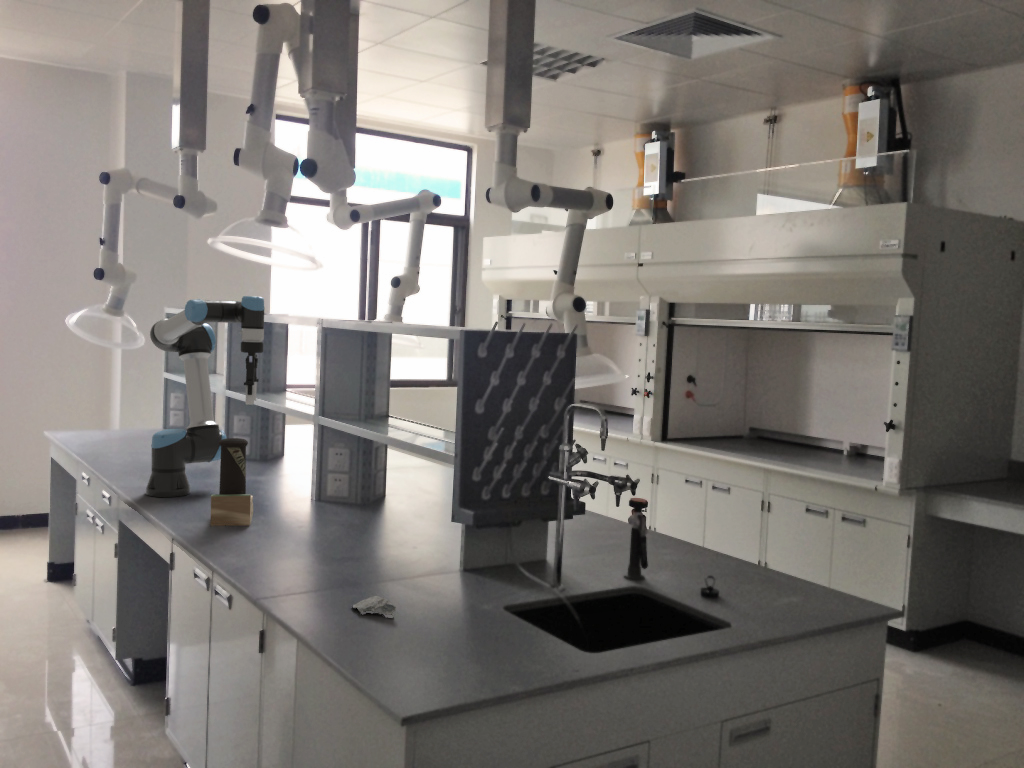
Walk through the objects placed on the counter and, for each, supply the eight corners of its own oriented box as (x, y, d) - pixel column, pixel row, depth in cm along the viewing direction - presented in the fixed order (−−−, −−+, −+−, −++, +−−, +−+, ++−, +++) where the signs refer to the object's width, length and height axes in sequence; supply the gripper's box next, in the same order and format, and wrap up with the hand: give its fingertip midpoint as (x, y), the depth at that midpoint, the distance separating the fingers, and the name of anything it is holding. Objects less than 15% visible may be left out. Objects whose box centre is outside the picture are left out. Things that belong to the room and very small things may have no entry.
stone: (372, 625, 201) (373, 607, 201) (348, 608, 211) (349, 591, 210) (397, 621, 205) (398, 603, 204) (372, 604, 215) (373, 587, 214)
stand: (215, 513, 300) (216, 484, 299) (253, 513, 303) (253, 484, 302) (210, 525, 283) (211, 495, 283) (249, 525, 286) (250, 495, 285)
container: (238, 502, 286) (239, 440, 285) (212, 500, 288) (213, 439, 287) (251, 497, 295) (252, 437, 293) (226, 495, 296) (227, 435, 295)
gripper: (243, 339, 319) (242, 398, 321) (238, 342, 295) (236, 406, 296) (265, 340, 321) (263, 399, 322) (261, 342, 297) (260, 406, 298)
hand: (250, 402), depth 309 cm, fingers open, 13 cm apart
